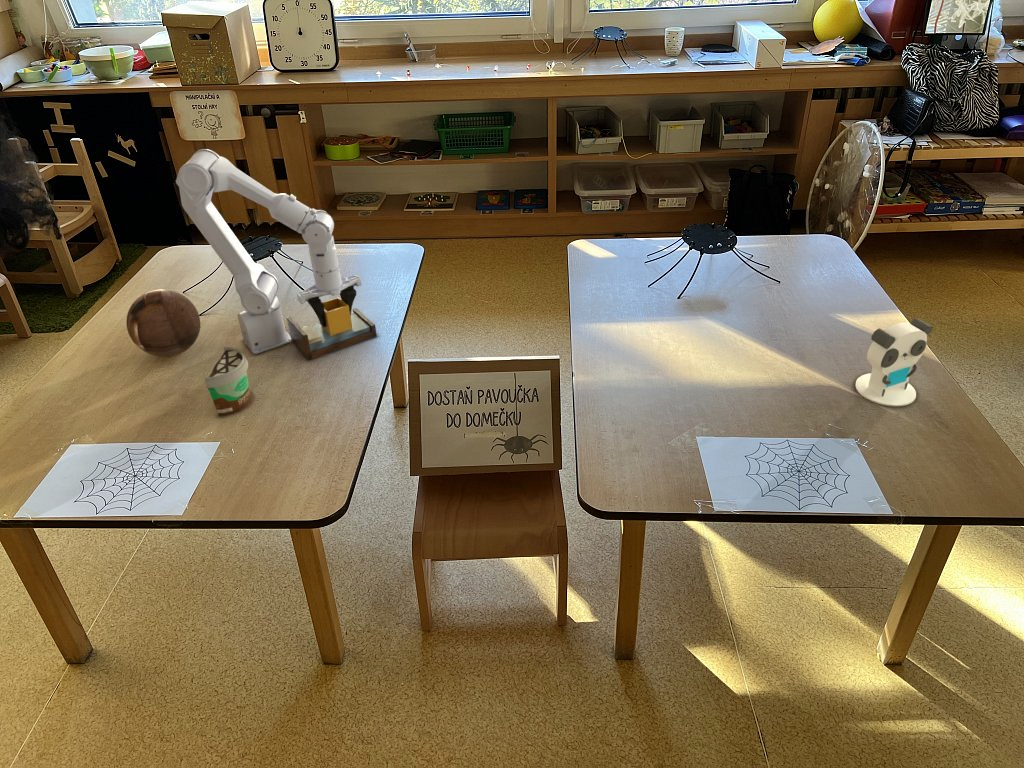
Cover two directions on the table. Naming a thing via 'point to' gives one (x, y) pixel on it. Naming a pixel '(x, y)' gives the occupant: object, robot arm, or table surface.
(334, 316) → the small bin
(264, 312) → the robot arm
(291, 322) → the toy bed
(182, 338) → the wooden sphere
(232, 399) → the food container
